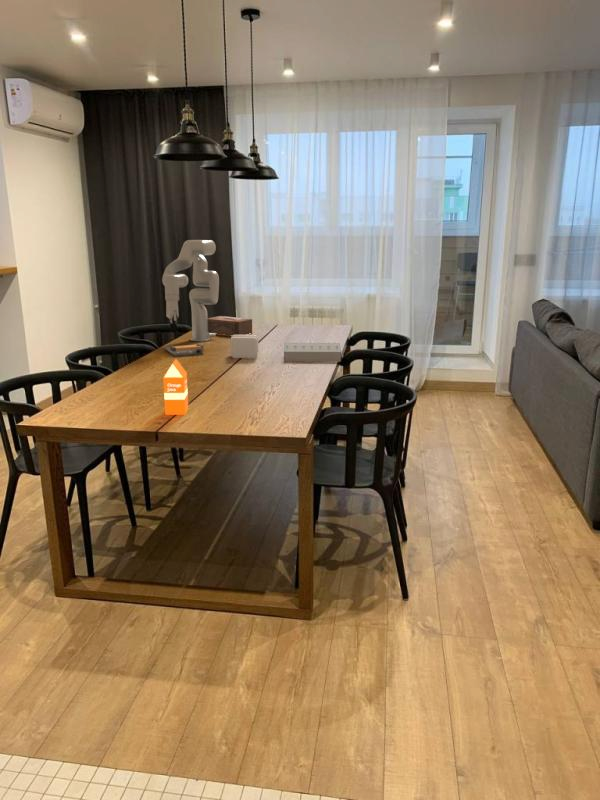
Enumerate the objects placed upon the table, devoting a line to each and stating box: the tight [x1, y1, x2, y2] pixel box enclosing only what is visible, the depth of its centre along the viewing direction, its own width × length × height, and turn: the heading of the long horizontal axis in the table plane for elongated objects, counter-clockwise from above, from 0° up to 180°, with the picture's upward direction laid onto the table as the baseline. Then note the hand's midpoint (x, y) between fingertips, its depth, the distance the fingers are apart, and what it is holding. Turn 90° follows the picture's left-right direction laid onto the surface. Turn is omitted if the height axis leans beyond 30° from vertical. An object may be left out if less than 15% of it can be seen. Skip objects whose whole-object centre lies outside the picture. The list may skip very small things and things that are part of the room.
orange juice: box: [162, 358, 189, 416], centre depth 239 cm, size 8×9×20 cm
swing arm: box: [169, 343, 204, 351], centre depth 346 cm, size 18×6×2 cm, turn 115°
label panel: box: [163, 346, 205, 358], centre depth 352 cm, size 18×24×2 cm
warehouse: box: [283, 342, 342, 363], centre depth 335 cm, size 30×14×8 cm, turn 90°
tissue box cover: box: [208, 315, 253, 336], centre depth 409 cm, size 26×14×10 cm, turn 59°
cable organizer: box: [230, 334, 259, 360], centre depth 338 cm, size 15×11×12 cm
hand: (173, 330), depth 349 cm, fingers closed
